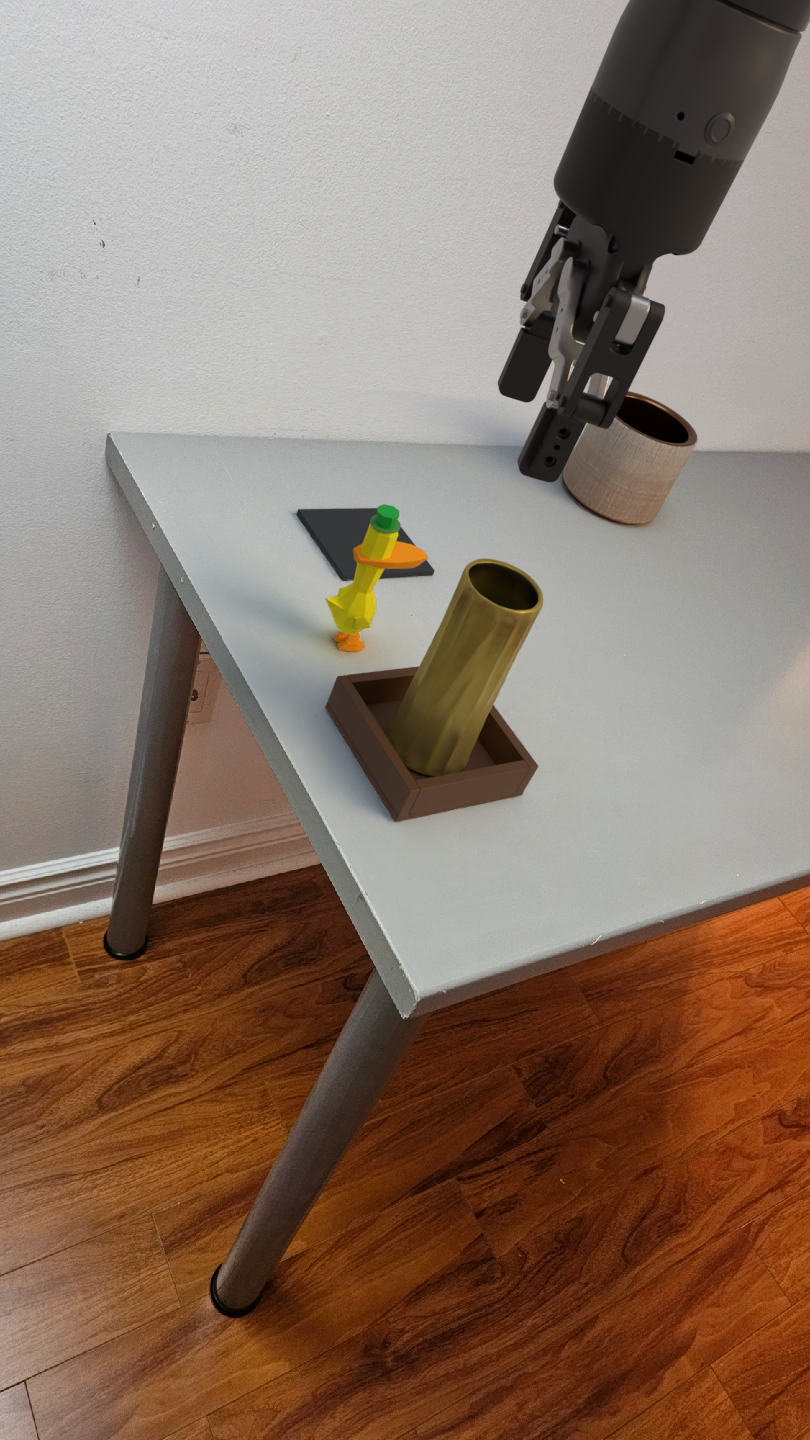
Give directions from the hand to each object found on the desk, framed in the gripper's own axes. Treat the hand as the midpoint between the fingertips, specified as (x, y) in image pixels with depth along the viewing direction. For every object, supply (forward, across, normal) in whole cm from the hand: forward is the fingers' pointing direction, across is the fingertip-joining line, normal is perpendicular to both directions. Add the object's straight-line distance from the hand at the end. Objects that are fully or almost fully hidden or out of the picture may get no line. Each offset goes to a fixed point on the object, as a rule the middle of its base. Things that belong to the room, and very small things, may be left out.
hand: (523, 433), depth 57 cm
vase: (+24, 0, +3) cm, 24 cm away
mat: (+25, -24, 0) cm, 34 cm away
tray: (+24, 0, +3) cm, 25 cm away
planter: (+25, -45, +27) cm, 58 cm away
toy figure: (+25, -10, -2) cm, 27 cm away
